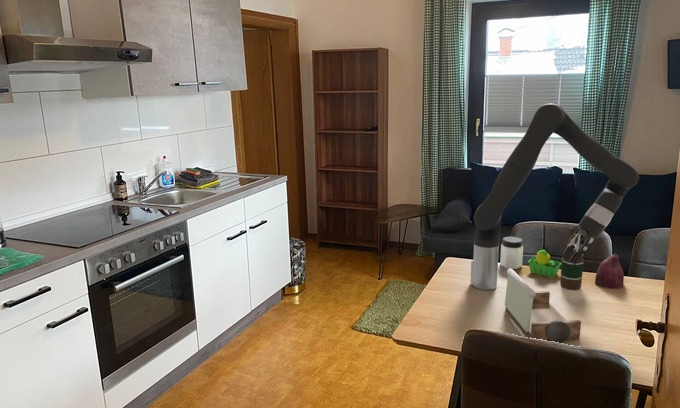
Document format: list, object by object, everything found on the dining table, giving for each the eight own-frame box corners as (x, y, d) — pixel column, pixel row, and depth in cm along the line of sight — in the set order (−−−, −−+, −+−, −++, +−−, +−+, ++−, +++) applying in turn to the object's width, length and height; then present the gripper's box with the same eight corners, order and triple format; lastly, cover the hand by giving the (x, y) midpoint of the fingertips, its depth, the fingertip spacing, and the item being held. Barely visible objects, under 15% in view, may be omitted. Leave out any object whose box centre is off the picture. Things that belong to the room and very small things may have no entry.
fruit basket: (561, 274, 208) (563, 248, 205) (552, 280, 202) (554, 254, 199) (534, 267, 216) (536, 242, 213) (524, 273, 210) (526, 247, 207)
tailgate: (509, 305, 177) (513, 268, 173) (530, 331, 158) (536, 291, 155) (503, 305, 176) (507, 268, 173) (524, 331, 158) (529, 291, 155)
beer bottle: (555, 283, 199) (560, 225, 193) (574, 282, 200) (579, 224, 194) (565, 291, 191) (571, 231, 186) (585, 290, 192) (591, 230, 186)
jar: (500, 268, 216) (501, 241, 213) (500, 261, 224) (501, 235, 221) (522, 270, 213) (524, 243, 210) (521, 263, 221) (523, 237, 218)
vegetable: (624, 296, 193) (638, 265, 186) (596, 291, 195) (608, 260, 187) (617, 280, 202) (630, 249, 194) (590, 275, 204) (602, 245, 196)
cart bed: (545, 304, 181) (546, 286, 179) (582, 342, 155) (584, 321, 154) (503, 306, 181) (504, 288, 179) (534, 344, 155) (535, 323, 153)
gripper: (579, 212, 176) (552, 250, 179) (593, 216, 162) (564, 258, 165) (598, 223, 176) (571, 261, 178) (614, 229, 162) (585, 271, 164)
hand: (568, 260), depth 171 cm, fingers open, 8 cm apart
